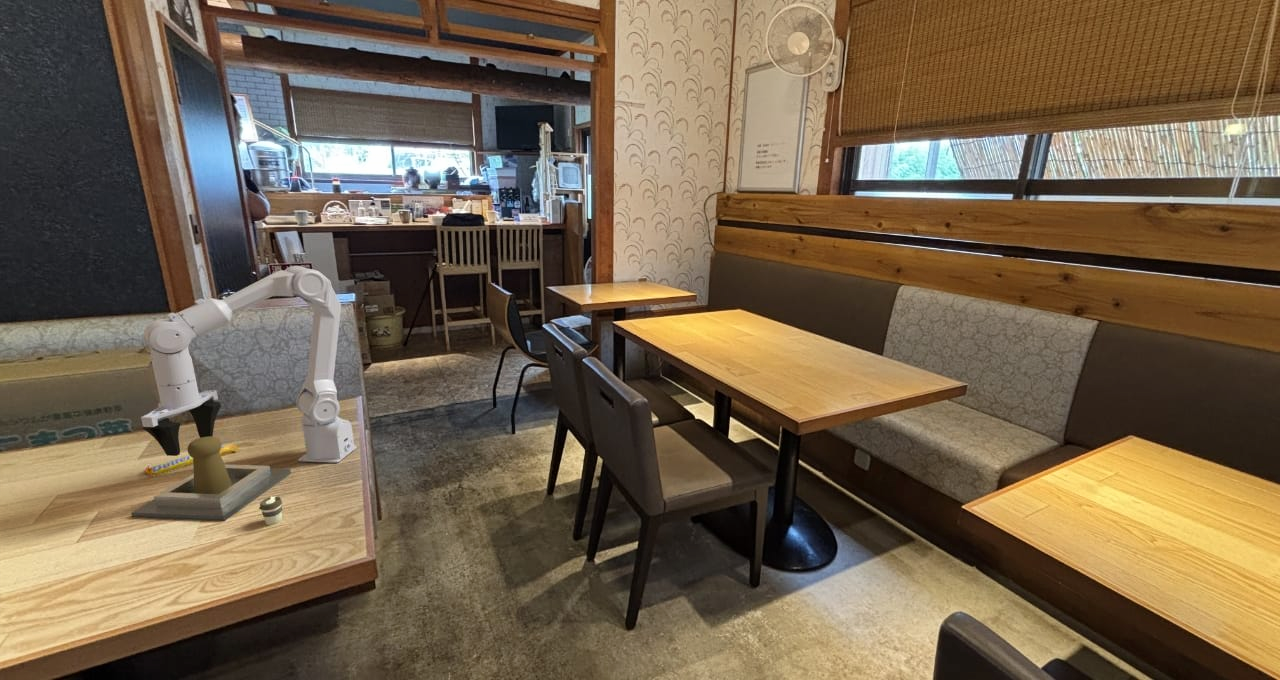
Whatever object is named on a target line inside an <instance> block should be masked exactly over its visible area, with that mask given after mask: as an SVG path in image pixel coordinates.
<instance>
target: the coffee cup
mask: <svg viewBox="0 0 1280 680" xmlns="http://www.w3.org/2000/svg"><path fill="white" fill-rule="evenodd" d="M258 509H259V510H261V514H262V516H263V519H264V522H265V525H267V526H273V525H277V524H279V523H280V522H281V521H282V519H283V518H282V517H283V516H282V511H283V500H282V499H281V497H280V496H278V495H275V496H270V497H267V498H264V499H262V500H261V501H260V503H259V508H258Z"/></svg>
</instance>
